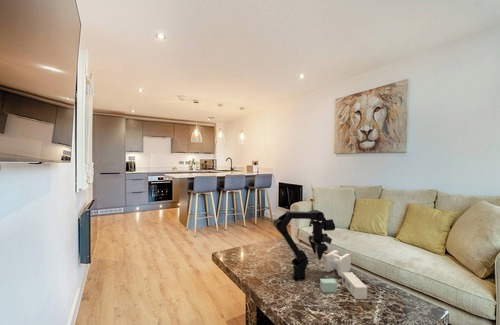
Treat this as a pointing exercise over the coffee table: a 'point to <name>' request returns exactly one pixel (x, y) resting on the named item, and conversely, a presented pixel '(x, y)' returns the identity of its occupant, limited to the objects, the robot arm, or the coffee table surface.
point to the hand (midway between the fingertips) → (317, 256)
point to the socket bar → (354, 285)
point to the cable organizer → (337, 262)
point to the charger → (329, 285)
